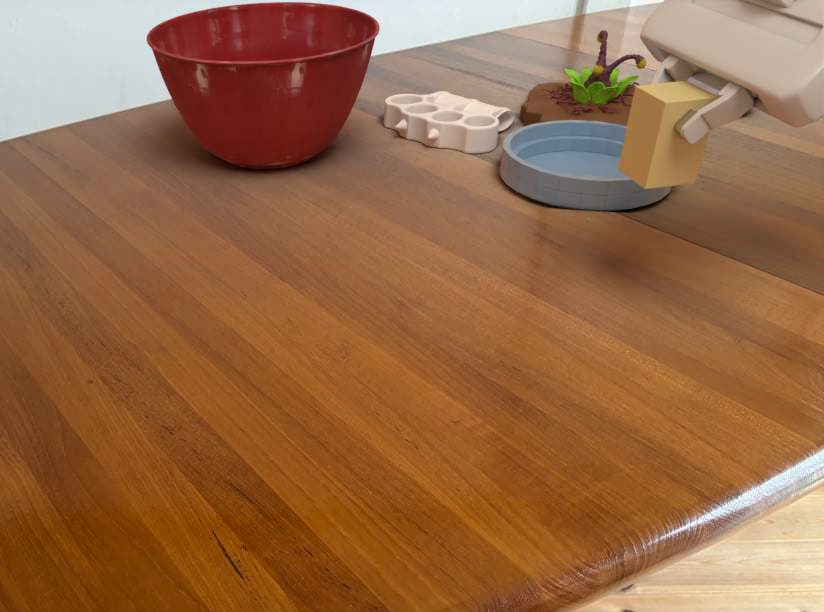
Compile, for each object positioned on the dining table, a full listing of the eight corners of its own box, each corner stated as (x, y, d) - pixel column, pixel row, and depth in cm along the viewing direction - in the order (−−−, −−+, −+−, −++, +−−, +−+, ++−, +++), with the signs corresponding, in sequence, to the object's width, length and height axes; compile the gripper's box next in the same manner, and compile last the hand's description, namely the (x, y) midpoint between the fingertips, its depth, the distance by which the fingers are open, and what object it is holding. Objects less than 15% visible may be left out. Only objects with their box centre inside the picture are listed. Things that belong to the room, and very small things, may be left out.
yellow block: (665, 163, 71) (686, 80, 67) (695, 183, 67) (719, 96, 63) (617, 169, 70) (635, 85, 66) (644, 189, 67) (665, 102, 63)
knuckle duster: (532, 134, 111) (462, 163, 104) (430, 105, 122) (361, 129, 115) (535, 109, 109) (465, 136, 102) (432, 82, 120) (362, 104, 113)
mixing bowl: (203, 211, 95) (190, 72, 85) (135, 135, 116) (119, 16, 106) (414, 167, 103) (423, 36, 94) (315, 104, 124) (315, -8, 115)
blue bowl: (656, 154, 104) (664, 123, 102) (683, 220, 89) (694, 185, 87) (498, 147, 108) (503, 117, 105) (499, 209, 93) (504, 175, 90)
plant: (653, 98, 122) (673, 17, 115) (680, 145, 107) (704, 54, 100) (515, 95, 125) (526, 15, 118) (522, 140, 110) (535, 52, 103)
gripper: (938, 43, 55) (759, 198, 60) (747, -15, 71) (618, 110, 76) (907, -26, 52) (720, 143, 56) (714, -70, 68) (581, 64, 72)
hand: (660, 124), depth 66 cm, fingers closed on yellow block, 4 cm apart
